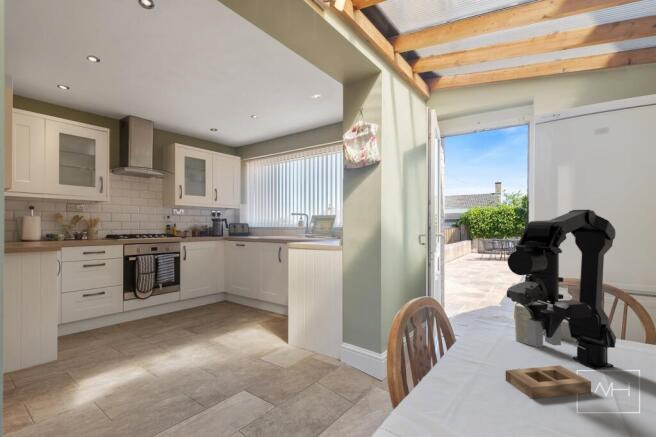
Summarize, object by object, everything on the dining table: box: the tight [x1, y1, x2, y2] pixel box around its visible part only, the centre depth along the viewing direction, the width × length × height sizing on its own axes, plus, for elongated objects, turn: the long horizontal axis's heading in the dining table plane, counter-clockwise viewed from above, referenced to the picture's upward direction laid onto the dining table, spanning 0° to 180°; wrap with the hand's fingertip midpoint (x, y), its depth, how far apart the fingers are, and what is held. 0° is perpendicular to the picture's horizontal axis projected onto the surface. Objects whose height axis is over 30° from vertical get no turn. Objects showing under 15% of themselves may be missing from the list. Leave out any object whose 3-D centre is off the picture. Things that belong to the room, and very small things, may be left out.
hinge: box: [543, 317, 578, 343], centre depth 109 cm, size 17×5×10 cm, turn 24°
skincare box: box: [514, 303, 534, 347], centre depth 101 cm, size 6×4×12 cm
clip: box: [527, 317, 562, 348], centre depth 75 cm, size 7×2×6 cm, turn 99°
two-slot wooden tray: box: [505, 364, 592, 400], centre depth 74 cm, size 16×8×2 cm, turn 100°
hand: (544, 335), depth 75 cm, fingers closed on clip, 2 cm apart
